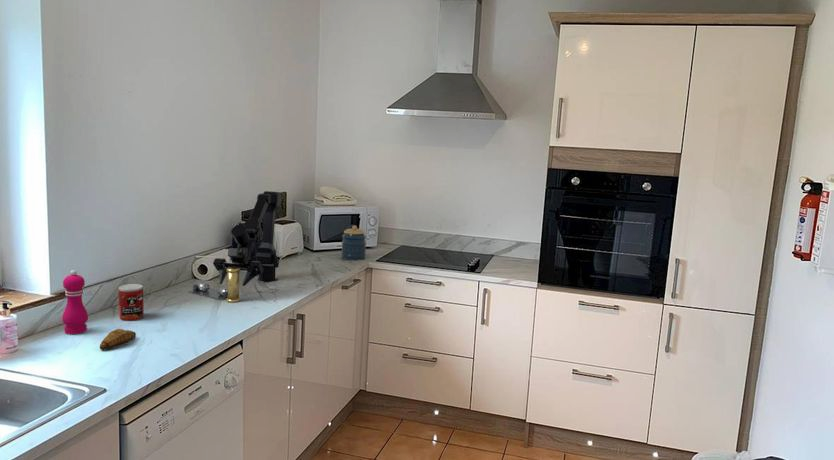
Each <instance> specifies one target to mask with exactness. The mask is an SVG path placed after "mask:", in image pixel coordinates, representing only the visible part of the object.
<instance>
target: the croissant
mask: <svg viewBox="0 0 834 460" xmlns="http://www.w3.org/2000/svg"><path fill="white" fill-rule="evenodd" d="M136 336H137V333H136V331H133V330H129V329H121V328H116V329H115V330H111V331H110V332H109V333H108V334H107V335H105V337H104V338H103V339H102V340H101V342H100V344H99V349H100V350H101V351H104V350H110V349H114V348H116V347H120V346H123V345H126V344H128V343H129V342H131V341H133V340H134V339H135V338H136Z"/></svg>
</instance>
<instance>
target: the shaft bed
mask: <svg viewBox="0 0 834 460" xmlns="http://www.w3.org/2000/svg"><path fill="white" fill-rule="evenodd" d="M187 292H188V293H191V294H195V295H199V296H202V297H206V298H210V299H215V300H218V301H224V300H226V299H227V288H225V287H218V289H215V288H211V287H210V285H209V284H208V283H204V282H199V281H198V282H196V283H195V284H192V290H189V291H187Z"/></svg>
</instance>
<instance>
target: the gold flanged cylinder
mask: <svg viewBox="0 0 834 460" xmlns="http://www.w3.org/2000/svg"><path fill="white" fill-rule="evenodd" d="M226 271H227V274H226V277H227V278H226V282H227V283H226V289H227V299H225V300H226V303H230V304H233V303H234V304H235V303H239V302H240V301H241V298H240V271H241V269H240V268H239V267H228V268H226Z"/></svg>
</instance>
